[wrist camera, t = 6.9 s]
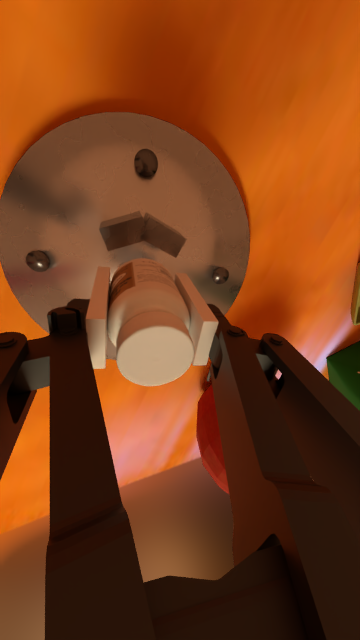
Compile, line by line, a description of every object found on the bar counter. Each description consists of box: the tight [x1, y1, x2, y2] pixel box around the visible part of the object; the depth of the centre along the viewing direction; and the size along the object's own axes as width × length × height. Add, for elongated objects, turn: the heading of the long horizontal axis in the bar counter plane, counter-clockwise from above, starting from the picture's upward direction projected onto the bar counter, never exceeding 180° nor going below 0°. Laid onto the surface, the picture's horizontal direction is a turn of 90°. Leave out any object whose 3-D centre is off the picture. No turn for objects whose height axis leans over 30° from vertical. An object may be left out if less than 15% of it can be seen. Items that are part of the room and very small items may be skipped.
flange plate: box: [0, 112, 250, 360], centre depth 19 cm, size 20×20×4 cm
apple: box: [196, 385, 229, 494], centre depth 26 cm, size 10×10×14 cm
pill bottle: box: [107, 258, 194, 386], centre depth 13 cm, size 4×4×8 cm
